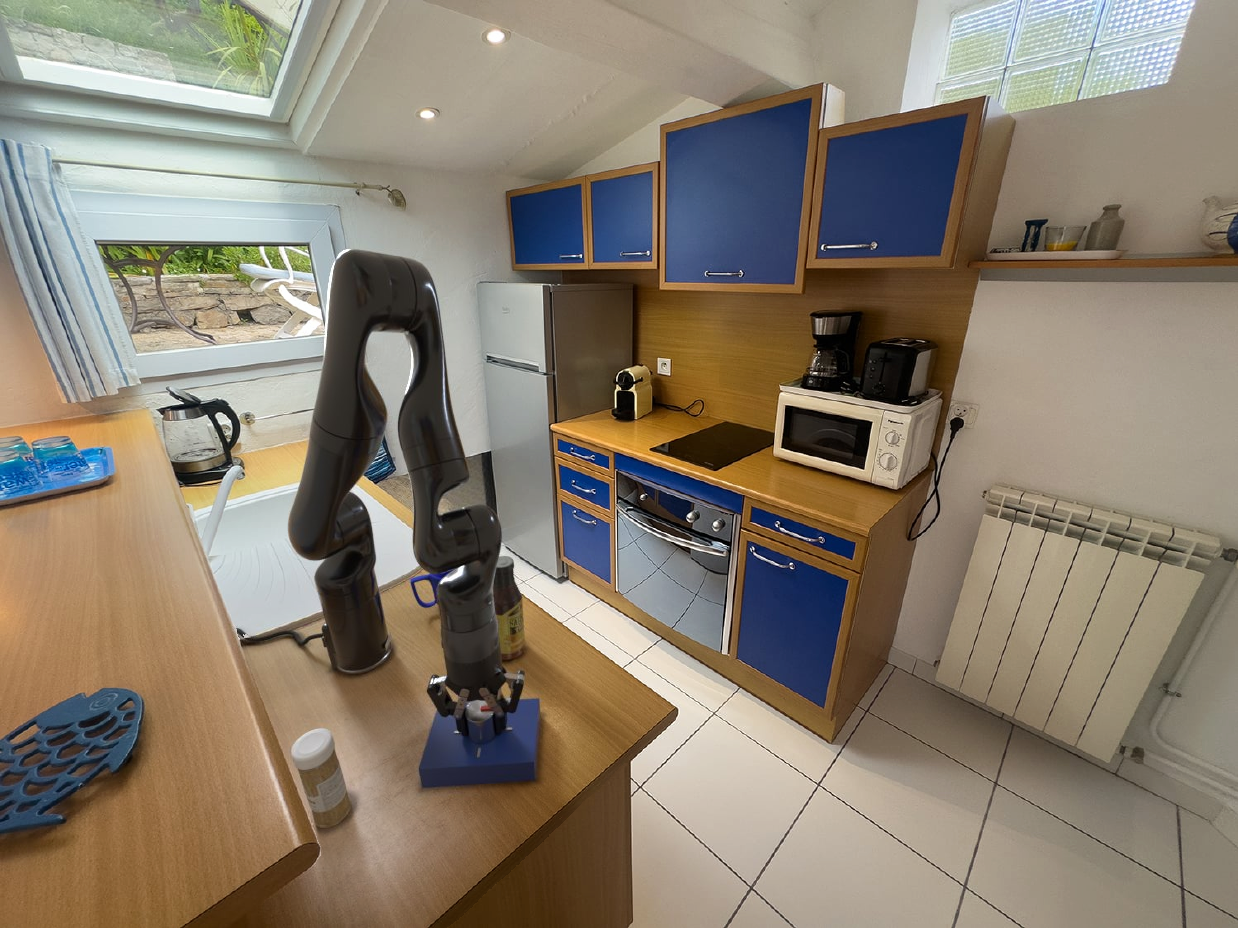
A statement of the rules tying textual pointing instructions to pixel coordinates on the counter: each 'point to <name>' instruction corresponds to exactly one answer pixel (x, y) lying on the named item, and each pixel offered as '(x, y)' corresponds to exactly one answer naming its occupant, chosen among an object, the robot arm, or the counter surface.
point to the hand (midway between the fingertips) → (482, 729)
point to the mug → (434, 581)
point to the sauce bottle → (508, 609)
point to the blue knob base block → (482, 751)
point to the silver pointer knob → (480, 722)
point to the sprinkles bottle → (321, 777)
